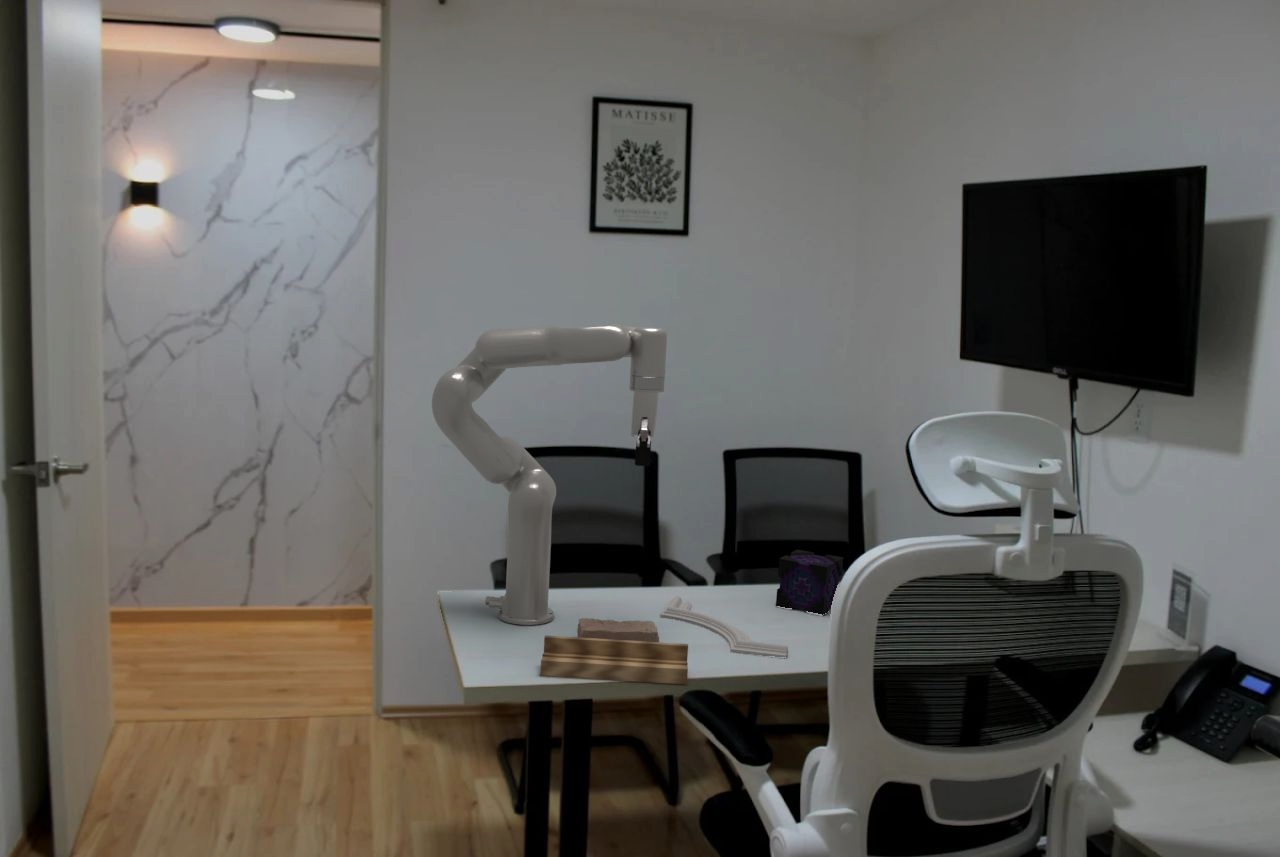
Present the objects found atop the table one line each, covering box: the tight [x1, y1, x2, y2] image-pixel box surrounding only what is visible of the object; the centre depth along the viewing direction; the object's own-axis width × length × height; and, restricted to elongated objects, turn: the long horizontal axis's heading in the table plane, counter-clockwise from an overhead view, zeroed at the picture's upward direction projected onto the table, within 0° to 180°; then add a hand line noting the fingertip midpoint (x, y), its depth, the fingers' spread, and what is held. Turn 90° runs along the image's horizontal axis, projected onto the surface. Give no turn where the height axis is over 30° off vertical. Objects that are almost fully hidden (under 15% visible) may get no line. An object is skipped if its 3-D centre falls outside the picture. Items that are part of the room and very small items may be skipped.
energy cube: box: [775, 549, 844, 615], centre depth 270 cm, size 12×12×12 cm
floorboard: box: [540, 634, 689, 685], centre depth 217 cm, size 28×10×6 cm, turn 89°
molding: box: [659, 595, 789, 658], centre depth 247 cm, size 42×12×3 cm, turn 33°
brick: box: [576, 617, 660, 642], centre depth 234 cm, size 17×8×5 cm, turn 99°
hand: (642, 462), depth 243 cm, fingers open, 9 cm apart
